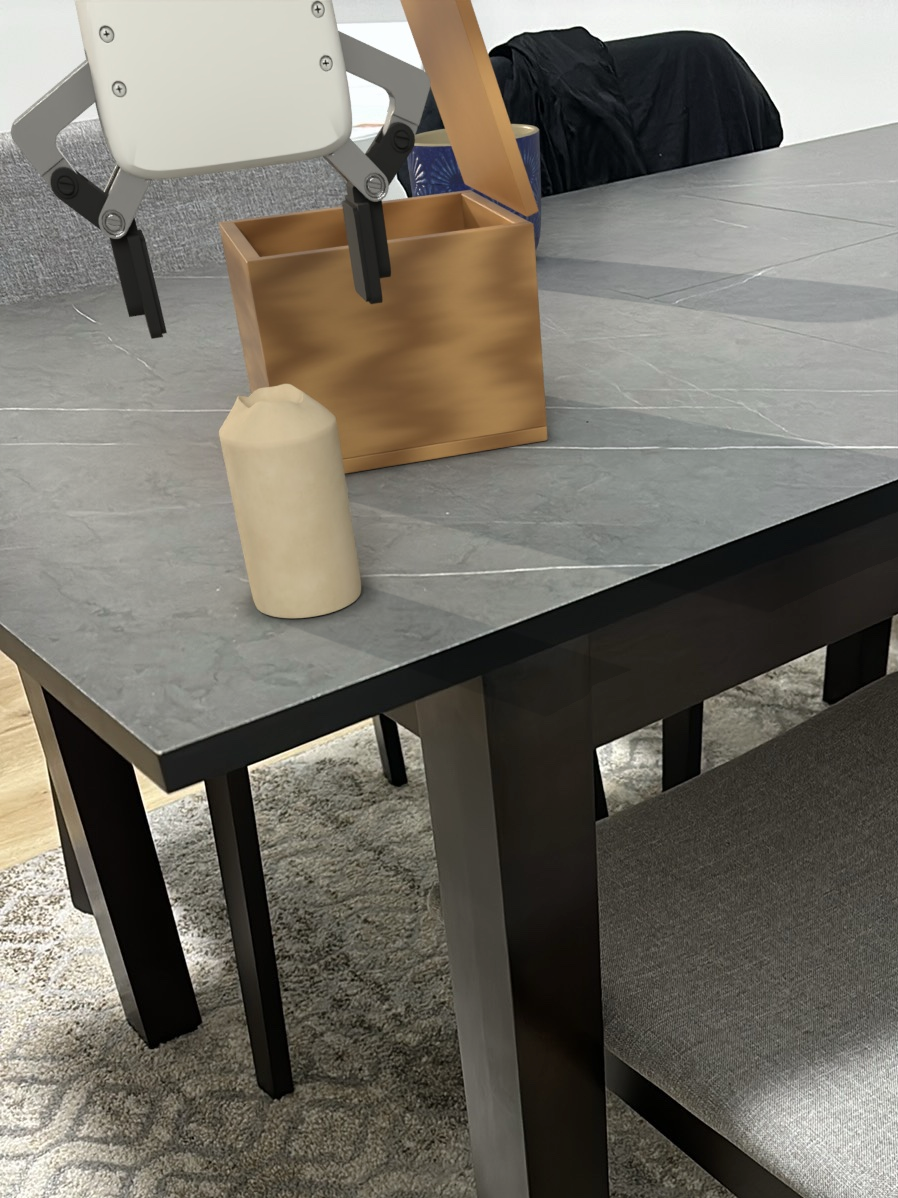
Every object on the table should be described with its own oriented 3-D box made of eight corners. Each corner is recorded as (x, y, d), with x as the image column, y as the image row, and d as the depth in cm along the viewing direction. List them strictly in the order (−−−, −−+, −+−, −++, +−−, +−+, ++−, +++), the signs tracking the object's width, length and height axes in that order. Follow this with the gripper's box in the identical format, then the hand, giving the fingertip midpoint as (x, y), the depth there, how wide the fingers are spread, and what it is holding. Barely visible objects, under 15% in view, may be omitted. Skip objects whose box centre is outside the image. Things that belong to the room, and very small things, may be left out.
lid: (405, -151, 69) (495, -194, 69) (352, -136, 81) (429, -173, 81) (527, 217, 80) (604, 180, 80) (464, 184, 92) (532, 151, 92)
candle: (357, 615, 68) (323, 404, 62) (245, 623, 68) (201, 413, 62) (367, 573, 72) (337, 371, 66) (263, 580, 73) (223, 380, 66)
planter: (408, 261, 138) (393, 134, 131) (528, 245, 140) (519, 119, 133) (433, 284, 128) (418, 149, 121) (562, 267, 130) (554, 133, 123)
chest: (286, 483, 85) (246, 261, 77) (255, 420, 96) (218, 222, 89) (548, 440, 88) (533, 223, 81) (488, 384, 100) (470, 189, 92)
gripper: (376, -189, 56) (432, 271, 67) (-63, -148, 53) (67, 328, 64) (416, -206, 51) (471, 301, 61) (-74, -162, 47) (71, 365, 58)
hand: (264, 314), depth 62 cm, fingers open, 9 cm apart
